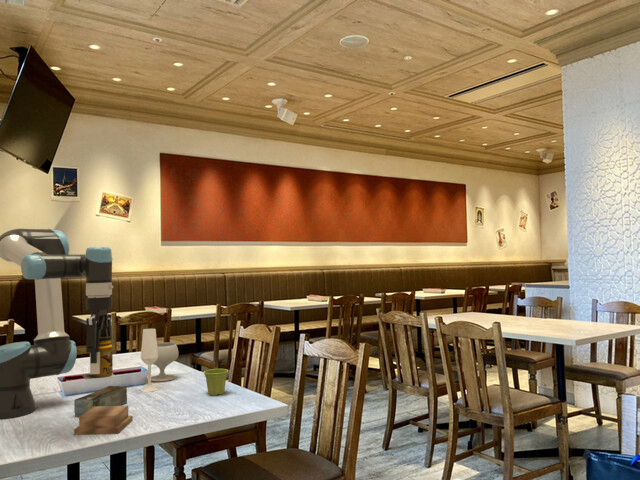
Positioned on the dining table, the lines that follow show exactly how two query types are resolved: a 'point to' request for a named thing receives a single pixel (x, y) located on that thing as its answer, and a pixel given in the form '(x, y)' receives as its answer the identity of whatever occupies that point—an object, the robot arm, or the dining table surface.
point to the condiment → (104, 359)
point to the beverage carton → (101, 399)
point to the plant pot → (216, 381)
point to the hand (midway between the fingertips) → (99, 371)
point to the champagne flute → (149, 354)
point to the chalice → (165, 360)
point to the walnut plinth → (103, 420)
